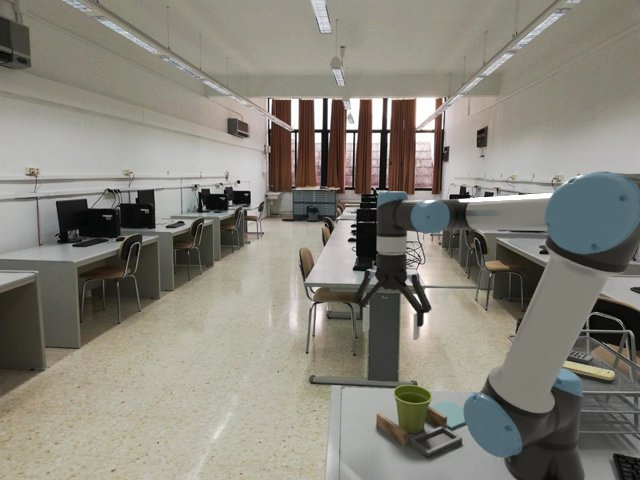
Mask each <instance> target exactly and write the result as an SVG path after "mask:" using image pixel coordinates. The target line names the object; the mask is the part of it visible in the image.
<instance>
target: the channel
mask: <svg viewBox="0 0 640 480" xmlns="http://www.w3.org/2000/svg"><path fill="white" fill-rule="evenodd" d="M430 406H431V405H429V406H428V410H427V414H426V419H427V420H428V421H430V422H431V423H433V424H434V425H436V426H437V427H440V426H442V425H443V426H444V427H446V428H447V429H448V427H447V416H445V415H443V414H442V413H440V412H438V411H437V410H435V409H433V408H432V407H430ZM376 427H378V428H380V429H381V430H382V431H384V433H386V434H388V435H389V436H390V437H391V438H393V439H394V440H396V441H397V442H398V443H399V444H401V446H403V447H405V446H407V445H408V441H409V438H408V433H409V432H406V431H405V430H404V429H402V428H401V427H399V424H397V423H395V422H394V421H392V420H391V419H390V418H388V417H386V416H385V415H384V414H383V413H381V412H378V413H376Z"/></svg>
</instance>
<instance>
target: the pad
mask: <svg viewBox="0 0 640 480" xmlns="http://www.w3.org/2000/svg"><path fill="white" fill-rule="evenodd" d="M429 406H430V407H432V408H433V409H435V410H437V411H438V412H440V413H442V414H443V415H445V416H447V429H449V430H451V431H452V430H453V429H456V428H458V427H461V426H464V425H467V424H466V422H465V419H464V411H463V410H464V406H463V407H462V406H460V405H459V404H457V403H455V402H453V401H441V402H437V403H434V404H431V405H429Z"/></svg>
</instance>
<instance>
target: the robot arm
mask: <svg viewBox="0 0 640 480" xmlns="http://www.w3.org/2000/svg"><path fill="white" fill-rule="evenodd" d="M376 200H377V203H376V251H377V252H378V253H377V254H376V270H372V268H369V269H366V270H365V271H364V274H363V275H364V276H363V279H362V281H361V283H360V285H359V287H358V290H357V291H356V293H355V295H354V297H353V299H352V303H353V304H355V305H358V306H359V317H360V319H362V332H364V333H366V332H368V331H369V330H370V311H371V310H370V307H371V306H370V305H368V304H369V302H370V301H371V299H373V298H374V297H375V295H376V294H377V293H378V292H379V291H380V289H382V288H383V289H384V290H389V289H390V290H393V291H397V290H398V291H399V293H401V294H402V295H403V296H404V298H405V299H406V300H407V302H408V303H409V304H410V305H411V307H412V308H413V309H414V311H415V312H414V314H413V333H412V335H413V336H412V337H413V341H417V340H419V338H420V328H421V327H423V326H424V322H425V319H424V318H425V317H424V316H425V314H428V313H429V312H430V311H431V310H432V309H433V308H432V306H431V303H430V301H429V299H428V297H427V295H426V293H425V290H424V288H423V286H422V284H421V281H420V273H418V272H415V273H408V272H407V271H408V270H407V265H408V263H407V257H408V256H407V254H406V253H407V251H408V250H407V249H408V247H407V246H408V232H416V233H422V234H425V235H428V234H440V233H441V232H443V231H444V232H446V231H447V232H448V231H463V230H465V231H530V232H531V231H533V232H534V231H535V232H537V231H539V232H547V234H548V235H547V238H546V240H545V242H544V247H545V249H546V250H547V252H548V254H549V259H548V261H547V264H546V266H545V268H544V269H543V270H544V271H543V273H542V275H541V277H540V280H539V281H538V284H537V286H536V288H535V291H534V293H533V294H532V298H531V299H530V302H529V304H528V306H527V309H526V311H525V313H524V316H523V317H522V319H521V323H520V325H519V327H518V330H517V332H516V334H515V336H514V337H513V340H512V342H511V345H510V347H509V350H508V352H507V354H506V356H505V358H504V361H503V363H502V365H497V366H495V367H493V368H491V369H490V371H489V373H488V375H487V377H486V379H485V382H484V385H483V387H482V388H481V390H480V391H478V392H477V391H476V392H473V393H472V394H471V395H469V396H468V397H467V398H466V400H465V401H464V405H463V408H464V410H463V411H464V419H465V422H466V424H465V425H466V426H467V429H468V432H469V433H470V436H471V437H472V439H474V441H475V443H477V445H478V446H479V447H480V448H481V449H482V450H483V451H485V452H486V453H488V454H489V455H491V456H493V457H496V458H502V459H503V461H504V465H505V467H506V468H507V470H508V471H509V472H510V473H511V474H512V475H513V476H514V477H515V478H517V479H518V480H586V479H585V478H586V476H585V475H586V474H585V469H584V466H583V462H582V460H581V455H580V451H579V446H578V444H579V431H580V425H581V424H580V423H581V413H582V405H583V398H584V394H583V390H584V389H583V387H584V386H583V381H582V379H581V378H580V377H579V376H578V375H577V374H576V373H574V372H572V371H570V370H569V369H565V368H563V367H564V365H565V363H566V360H567V359H568V357H569V356H570V353H571V351H572V349H573V347H574V346H575V343H576V341H577V340H578V337H579V336H580V334H581V332H582V330H583V328H584V326H585V324H586V322H587V320H588V318H589V316H590V314H591V312H592V310H593V308H594V306H595V304H596V303H597V301H598V299H599V296H600V295H601V293H602V291H603V288H604V287H605V286H606V283H607V281H608V279H609V278H612V277H616V276H619V275H623V274H624V273H625V272H626V270H627V269H628V267H629V265H630V263H631V261H632V258H633V257H634V255H635V253H636V251H637V249H638V248H639V246H640V173H623V172H621V173H620V172H611V171H595V172H591V173H585V174H581V175H577V176H575V177H572V178H570V179H568V180H566V181H565V182H563V183H562V184H560V186H558V187H557V188H556V189H555V190H554V192H546V193H532V194H531V193H530V194H519V195H518V194H517V195H516V194H515V195H502V196H488V197H487V196H486V197H485V196H484V197H474V198H456V199H455V198H452V199H432V198H431V199H409V197H408V193H407V192H406V191H381V192H378V194H377V199H376ZM374 277H375V278H376V280H377V282H376V284H374V285H373V287H372V288H371V289H370V291H369V292H367V294H366V295H365V296H364V294H365V292H366V291H367V289H368V286H369V285H370V283H371V280H372V279H373V278H374ZM408 280H409V282H410V283H411V284H412V287H413V289H414V291H415V292H414V293H416V296H417V297H416V296H415V294H413V292H412V291H411V289H410V288H409V286H408V284H407V283H406V281H408ZM363 296H364V297H363ZM417 298H418V299H417Z"/></svg>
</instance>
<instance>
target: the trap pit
mask: <svg viewBox="0 0 640 480" xmlns="http://www.w3.org/2000/svg"><path fill="white" fill-rule="evenodd" d="M462 443H463V437H462V436H460V435H458V434H457V433H455V432H454V431H452V430H451V429H449V428H448V427H447V428H446V427H444V426H443V425H442V426H440V427H439V426H437V427H436V428H433V429H430V430H428V431H425V432H423V433H421V434H418V435H416V436H414V437H411V438H408V445H410V446H411V447H412V448H414V449H415V450H416V451H418V452H419V453H420V454H422V455H423V456H424V457H426V458H427V459H428V458H431V457H433V456H435V455H438V454H440V453H443V452H444V451H447V450H449V449H451V448H453V447H455V446H457V445H460V444H462Z"/></svg>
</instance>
